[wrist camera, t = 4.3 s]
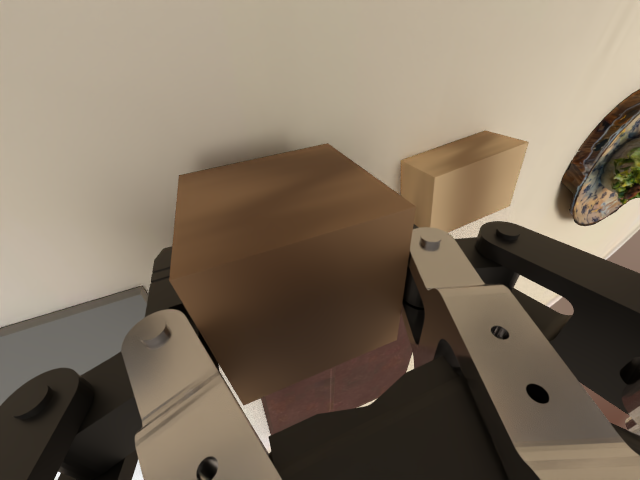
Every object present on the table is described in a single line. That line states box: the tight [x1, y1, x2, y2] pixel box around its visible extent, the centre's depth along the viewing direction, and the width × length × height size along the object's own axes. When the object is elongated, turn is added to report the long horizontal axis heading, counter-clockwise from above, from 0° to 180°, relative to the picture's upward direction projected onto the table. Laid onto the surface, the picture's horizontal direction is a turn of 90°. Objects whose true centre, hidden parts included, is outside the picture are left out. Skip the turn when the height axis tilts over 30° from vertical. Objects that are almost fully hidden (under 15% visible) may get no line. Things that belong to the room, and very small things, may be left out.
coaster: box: [0, 286, 148, 406], centre depth 15 cm, size 11×11×1 cm
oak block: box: [401, 131, 529, 233], centre depth 16 cm, size 6×4×3 cm, turn 101°
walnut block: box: [169, 143, 416, 405], centre depth 9 cm, size 5×5×5 cm
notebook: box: [261, 315, 413, 435], centre depth 23 cm, size 15×20×2 cm
